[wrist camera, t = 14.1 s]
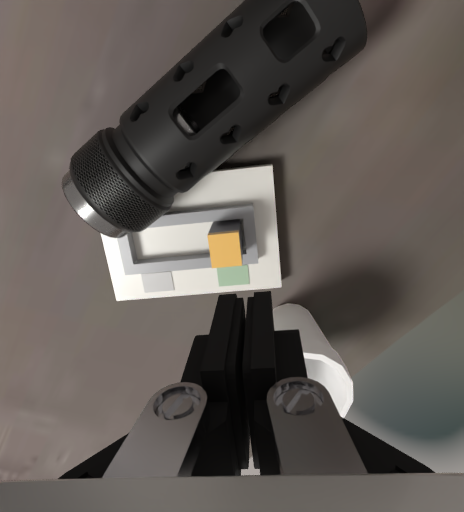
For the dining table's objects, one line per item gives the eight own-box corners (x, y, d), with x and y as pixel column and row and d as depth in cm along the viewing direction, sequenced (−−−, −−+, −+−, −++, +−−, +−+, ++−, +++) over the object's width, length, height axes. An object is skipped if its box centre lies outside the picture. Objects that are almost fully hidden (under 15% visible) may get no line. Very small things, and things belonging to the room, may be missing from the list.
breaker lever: (240, 218, 40) (238, 232, 35) (243, 247, 42) (242, 265, 36) (213, 221, 41) (207, 235, 35) (217, 250, 42) (211, 268, 36)
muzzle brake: (349, 63, 36) (385, 37, 27) (143, 229, 43) (111, 258, 33) (293, -26, 34) (310, -90, 25) (86, 163, 41) (33, 173, 31)
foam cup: (341, 316, 46) (374, 384, 34) (299, 368, 49) (315, 448, 37) (278, 278, 45) (288, 335, 33) (238, 334, 48) (234, 405, 35)
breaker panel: (271, 163, 40) (273, 166, 37) (280, 280, 45) (282, 292, 42) (96, 183, 42) (83, 187, 39) (122, 293, 47) (111, 306, 43)
